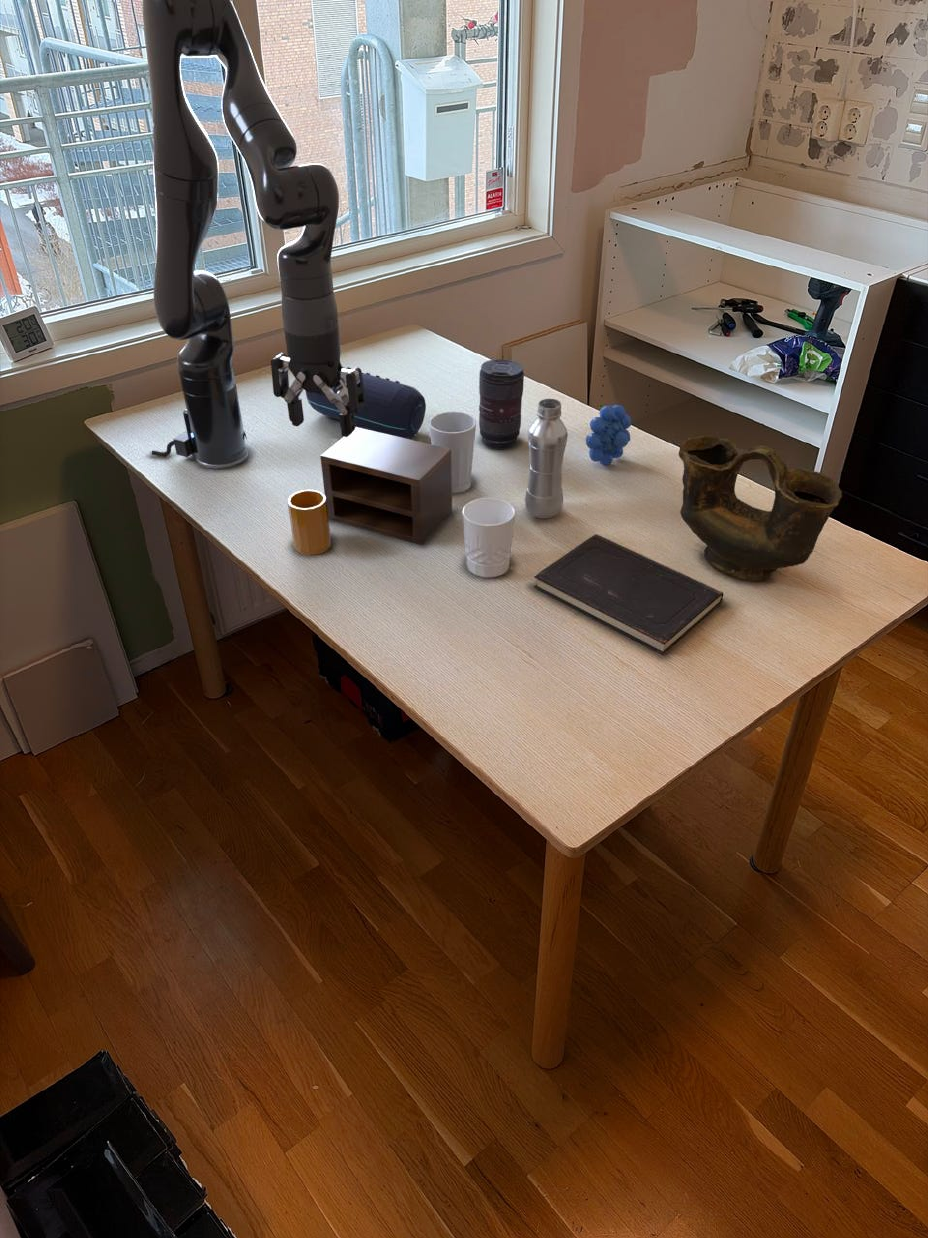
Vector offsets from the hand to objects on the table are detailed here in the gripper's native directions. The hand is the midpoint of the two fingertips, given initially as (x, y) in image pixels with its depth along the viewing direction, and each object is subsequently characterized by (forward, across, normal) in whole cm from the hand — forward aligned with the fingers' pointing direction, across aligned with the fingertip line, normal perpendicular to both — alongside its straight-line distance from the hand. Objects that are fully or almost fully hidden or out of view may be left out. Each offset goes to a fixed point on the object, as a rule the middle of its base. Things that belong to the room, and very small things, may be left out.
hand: (322, 429), depth 138 cm
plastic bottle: (+20, -28, -21) cm, 41 cm away
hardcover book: (+20, -48, -5) cm, 52 cm away
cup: (+20, -10, -24) cm, 33 cm away
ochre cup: (+20, +2, +3) cm, 20 cm away
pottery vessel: (+20, -61, -20) cm, 68 cm away
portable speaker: (+20, +14, -37) cm, 45 cm away
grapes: (+20, -34, -41) cm, 57 cm away
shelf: (+20, -5, -10) cm, 23 cm away
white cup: (+20, -26, -3) cm, 33 cm away
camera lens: (+20, -12, -42) cm, 48 cm away
